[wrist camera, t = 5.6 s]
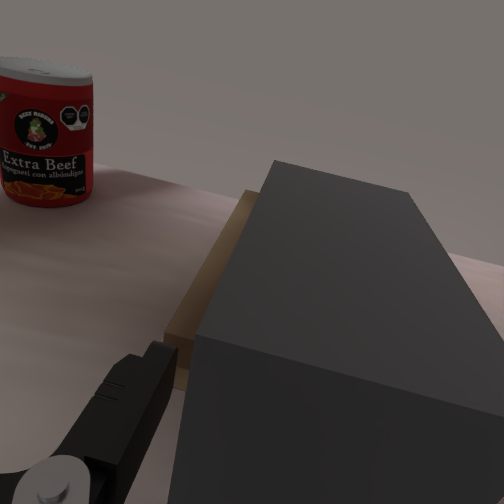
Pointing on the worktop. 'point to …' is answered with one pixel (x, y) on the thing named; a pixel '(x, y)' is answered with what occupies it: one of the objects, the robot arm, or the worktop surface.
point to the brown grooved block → (205, 289)
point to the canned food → (45, 132)
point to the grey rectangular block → (341, 360)
